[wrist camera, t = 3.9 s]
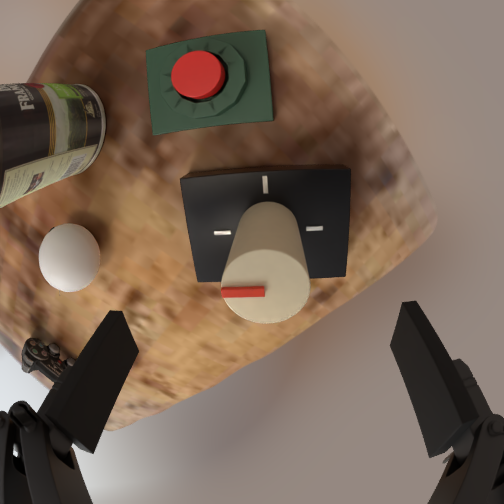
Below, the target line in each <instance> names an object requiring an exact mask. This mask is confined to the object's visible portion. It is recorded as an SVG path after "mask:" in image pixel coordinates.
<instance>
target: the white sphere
mask: <svg viewBox="0 0 504 504" xmlns="http://www.w3.org/2000/svg"><path fill="white" fill-rule="evenodd" d="M39 264H40V269H41V272H42V274H43V276H44V277H45V279H46V280H47V281H48V283H49V284H50V285H52V286H53V287H54V288H57V289H59V295H60V290H62V291H64V292H74V291H78V290H81V289H83V288H85V287H86V286H88V285H89V284H90V283H91V282H92V280H93V279H94V278H95V276H96V274H97V272H98V269H99V266H100V250H99V246H98V243H97V242H96V240H95V238H94V236H93V235H92V234H91V233H90V232H89V231H88V230H87V229H86V228H84V227H83V226H80V225H77V224H71V223H68V224H62V225H59V226H56V227H55V228H54V227H53V228H52V229H51V230H50V231H49V233H48V234H47V235H46V236H45V238H44V240H43V242H42V244H41V247H40V250H39Z"/></svg>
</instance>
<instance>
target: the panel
mask: <svg viewBox="0 0 504 504" xmlns="http://www.w3.org/2000/svg"><path fill="white" fill-rule="evenodd" d="M180 184H181V190H182V197H183V203H184V210H185V216H186V222H187V228H188V233H189V239H190V245H191V250H192V255H193V261H194V266H195V271H196V276H197V281H198V282H221V281H222V276H223V273H224V270H225V266H226V263H227V260H228V257H229V254H230V250H231V247H232V244H233V241H234V238H235V235H236V231H237V228H238V225H239V222H240V219H241V217H242V215H243V214H244V213H245V211H246V210H247V209H249V208H250V207H251V206H253V205H255V204H258V203H261V202H275V203H279V204H281V205H283V206H285V207H286V208H288V209H289V210H290V211H291V212H292V213H293V215H294V216H295V218H296V221H297V224H298V229H299V233H300V237H301V242H302V246H303V251H304V255H305V260H306V264H307V269H308V274H309V278H310V279H312V278H332V277H345V276H346V266H347V254H348V240H349V222H350V195H351V169H350V168H348V167H346V166H345V165H288V166H267V167H251V168H237V169H225V170H214V171H204V172H195V173H188V174H187V175H185V176H183V177H182V178H180Z"/></svg>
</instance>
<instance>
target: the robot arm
mask: <svg viewBox="0 0 504 504" xmlns="http://www.w3.org/2000/svg"><path fill="white" fill-rule="evenodd" d="M390 347H391V350H392V352H393V354H394V357H395V359H396V362H397V364H398V367H399V369H400V372H401V375H402V377H403V380H404V382H405V385H406V388H407V390H408V393H409V396H410V399H411V402H412V404H413V407H414V410H415V413H416V416H417V419H418V422H419V425H420V429H421V432H422V435H423V438H424V442H425V445H426V448H427V452H428V455H429V458H431V457H434V456H437V455H439V454H442V453H445V452H446V451H447V450H448V449H449V448H450V447H451V446H452V447H453V450H454V451H453V452H452V453H451V454H450V455H449V456H448V457H446V458H445V460H444V461H443V463H446V462H447V461H448V460H449V461H448V463H447V465H446V468H445V470H444V472H443V475H442V477H441V479H440V481H439V483H438V485H437V487H436V489H435V491H434V493H433V495H432V496H431V499H430V500H429V502H428V504H504V418H503V417H502V416H500V415H498V414H493V413H492V411H491V410H490V408H489V406H488V404H487V401H486V399H485V397H484V395H483V393H482V391H481V389H480V387H479V386H478V385H477V382H476V380H475V378H474V377H473V374H472V372H471V371H470V369H469V367H468V366H467V365H466V364H465V363H464V362H463V361H462V360H461V359H457V360H452V359H451V358H450V356H449V354H448V352H447V351H446V349H445V347H444V345H443V344H442V342H441V340H440V338H439V337H438V335H437V333H436V332H435V330H434V328H433V327H432V325H431V324H430V322H429V320H428V319H427V317H426V315H425V314H424V312H423V311H422V309H421V308H420V306H419V305H418V303H417V301H410V302H402V305H401V309H400V313H399V317H398V320H397V324H396V327H395V330H394V334H393V337H392V340H391V344H390ZM138 353H139V350H138V347H137V345H136V343H135V341H134V338H133V336H132V334H131V331H130V329H129V327H128V324H127V322H126V319H125V317H124V314H123V312H122V311H112V310H110V311H109V312H108V314H107V315H106V317H105V318H104V319H103V321H102V322H101V324H100V325H99V327H98V328H97V329H96V331H95V332H94V334H93V335H92V337H91V338H90V340H89V341H88V343H87V344H86V346H85V347H84V349H83V350H82V352H81V353H80V355H79V357H78V358H77V360H76V361H75V363H74V364H73V366H70V365H69V366H68V367H67V368H66V369H64V370H63V371H62V372H61V374H60V375H59V377H58V378H57V380H56V382H55V383H54V385H53V386H52V389H51V390H50V391H49V393H48V395H47V396H46V398H45V400H44V402H43V403H42V405H41V407H40V408H39V410H38V412H37V413H36V412H35V411H34V410H33V409H32V408H31V407H30V405H29V404H28V403H27V402H25V401H18V402H16V403H14V404H13V405H12V406H11V407H10V410H9V412H8V414H7V413H6V412H5V411H0V504H93V503H92V501H91V498H90V496H89V493H88V490H87V488H86V485H85V482H84V480H83V477H82V474H81V471H80V468H79V465H78V462H77V459H76V455H75V452H74V450H73V448H72V447H71V446H72V444H73V443H74V444H75V445H76V446H77V447H78V448H80V449H81V450H84V451H87V452H89V453H92V454H94V451H95V449H96V446H97V444H98V442H99V439H100V437H101V434H102V432H103V429H104V427H105V425H106V422H107V420H108V418H109V415H110V413H111V411H112V409H113V406H114V404H115V402H116V400H117V397H118V395H119V393H120V391H121V389H122V386H123V384H124V382H125V380H126V378H127V376H128V373H129V371H130V369H131V367H132V365H133V363H134V361H135V359H136V357H137V355H138ZM13 449H14V450H15V451H16V452H18V456H17V457H16V456H14V455H13Z"/></svg>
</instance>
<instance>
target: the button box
mask: <svg viewBox="0 0 504 504" xmlns="http://www.w3.org/2000/svg"><path fill="white" fill-rule="evenodd" d="M192 51H206V52H209V53H211V54H213V55H214V56H215V57H216V58H217V59H218V60H219V61H220V62H221V64H222V65H223V67H224V70H225V80H224V83H223V85H222V87H221V88H220V90H219V91H218V92H217V93H215V94H214V95H212V96H210V97H208V98H204V99H194V98H191V97H187V96H184V95H182V94H180V93H179V92H178V91H177V90H176V89H175V88H174V86H173V84H172V80H171V73H172V69H173V67H174V65H175V63H176V62H177V61H178V59H179V58H181V57H182V56H183V55H185V54H187V53H189V52H192ZM146 63H147V78H148V91H149V103H150V113H151V122H152V131H153V135H160V134H166V133H171V132H177V131H183V130H190V129H197V128H204V127H212V126H220V125H229V124H239V123H251V122H266V121H273V120H274V119H273V106H272V94H271V83H270V72H269V61H268V51H267V41H266V32H265V30H255V31H243V32H234V33H226V34H219V35H212V36H206V37H201V38H195V39H190V40H185V41H181V42H176V43H172V44H168V45H164V46H160V47H156V48H153V49H149V50H146Z"/></svg>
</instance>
